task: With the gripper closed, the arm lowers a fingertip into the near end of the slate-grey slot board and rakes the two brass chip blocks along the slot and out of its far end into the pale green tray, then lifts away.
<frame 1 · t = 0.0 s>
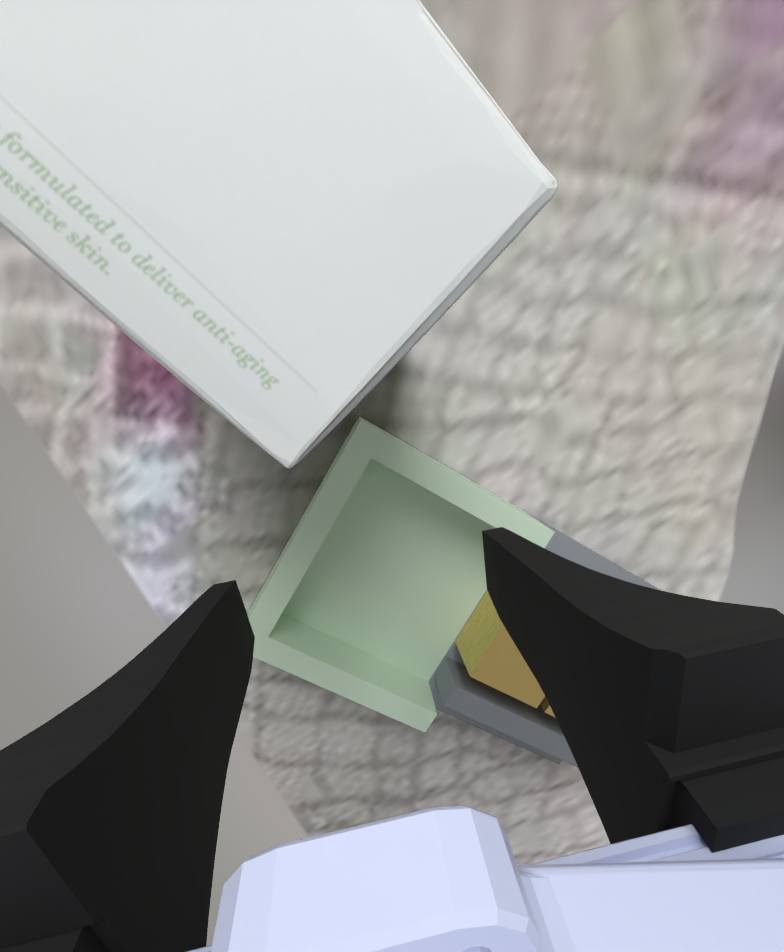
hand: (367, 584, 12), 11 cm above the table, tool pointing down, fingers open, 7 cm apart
skincare box: (308, 315, 21), on the table
slot board: (467, 600, 24), on the table
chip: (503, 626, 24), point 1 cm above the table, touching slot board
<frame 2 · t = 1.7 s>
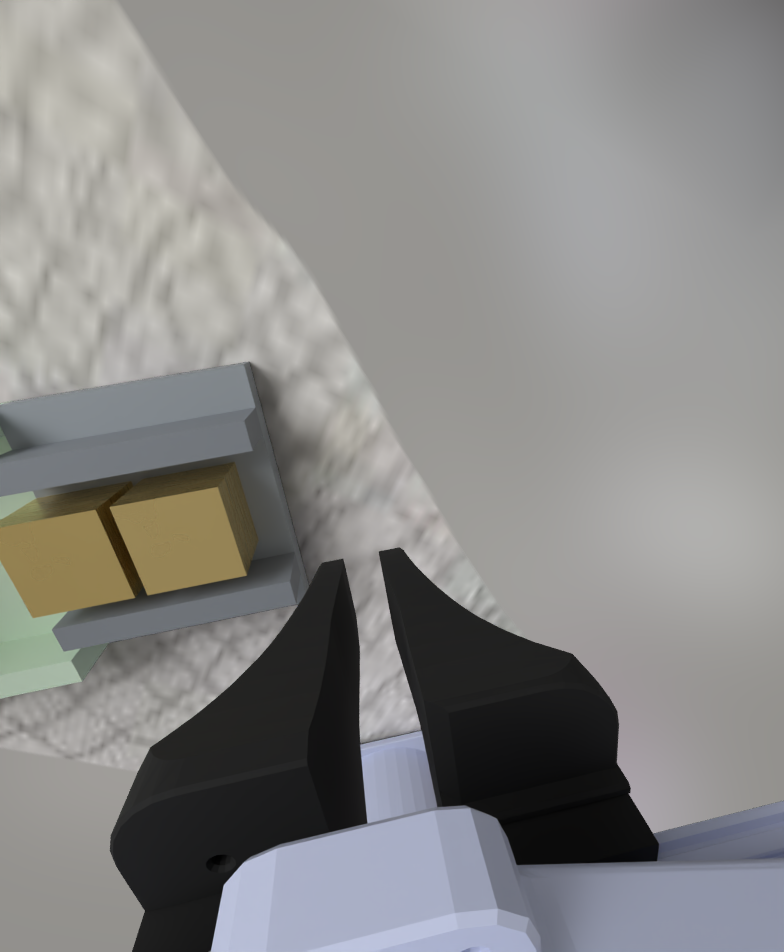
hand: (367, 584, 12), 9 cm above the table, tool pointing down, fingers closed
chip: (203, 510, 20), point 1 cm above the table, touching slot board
slot board: (71, 526, 20), on the table
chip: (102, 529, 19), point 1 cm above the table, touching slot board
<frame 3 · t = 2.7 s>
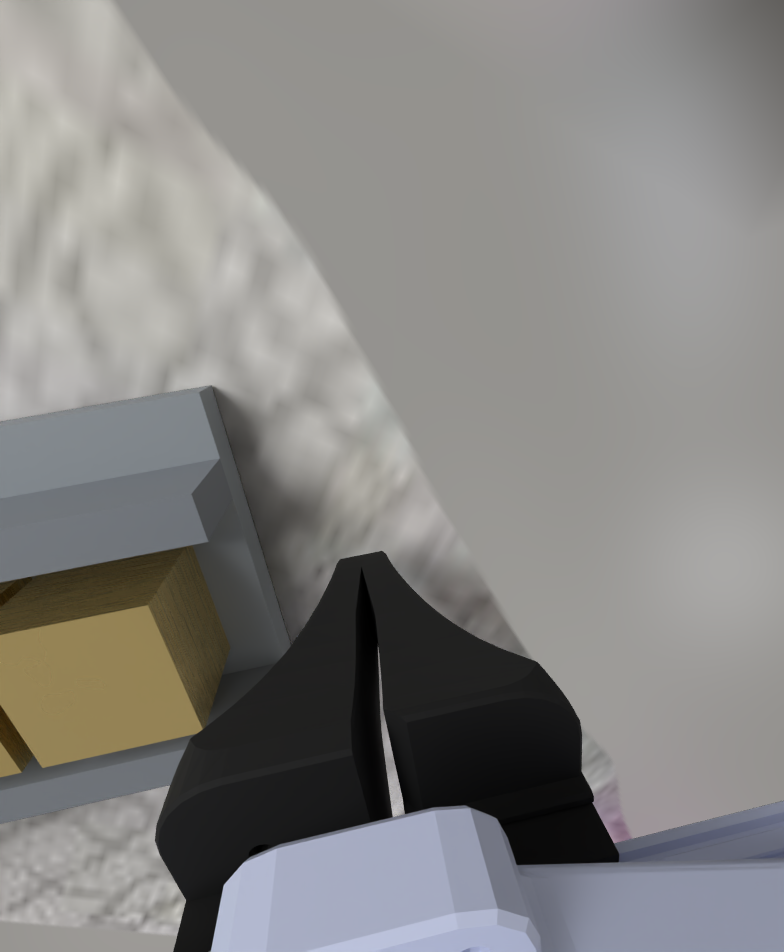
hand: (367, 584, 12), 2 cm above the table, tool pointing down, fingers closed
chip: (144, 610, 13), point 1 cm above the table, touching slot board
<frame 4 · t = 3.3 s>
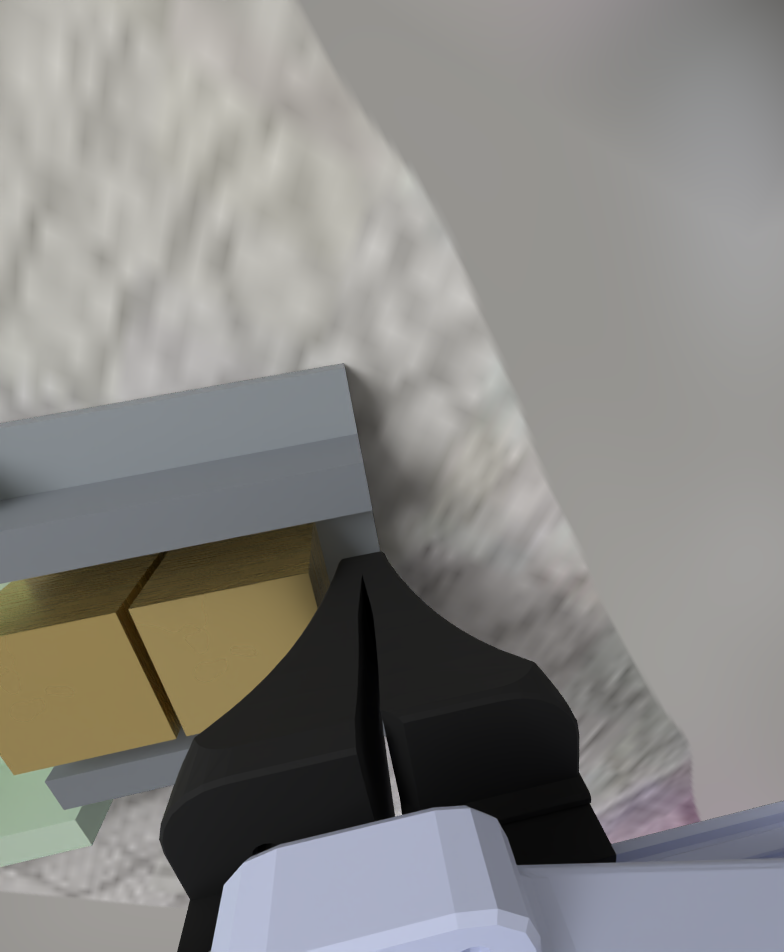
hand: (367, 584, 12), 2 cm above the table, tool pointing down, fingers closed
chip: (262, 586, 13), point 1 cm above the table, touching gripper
slot board: (74, 605, 14), on the table
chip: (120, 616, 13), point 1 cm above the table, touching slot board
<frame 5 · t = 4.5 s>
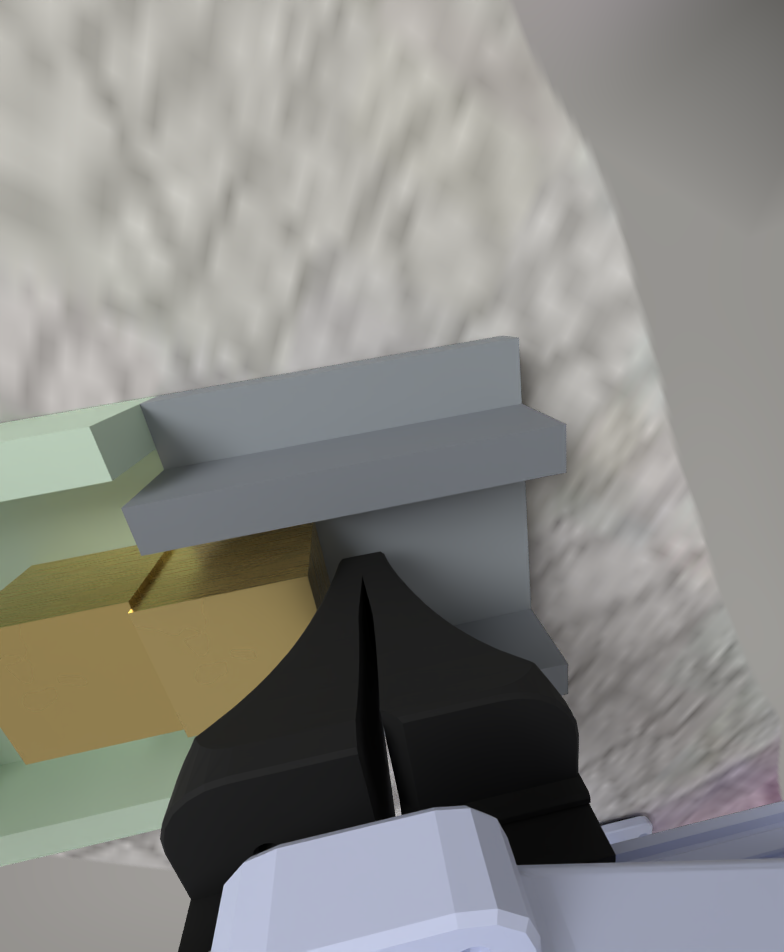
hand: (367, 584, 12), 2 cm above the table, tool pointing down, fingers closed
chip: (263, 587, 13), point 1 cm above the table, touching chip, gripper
slot board: (221, 575, 14), on the table
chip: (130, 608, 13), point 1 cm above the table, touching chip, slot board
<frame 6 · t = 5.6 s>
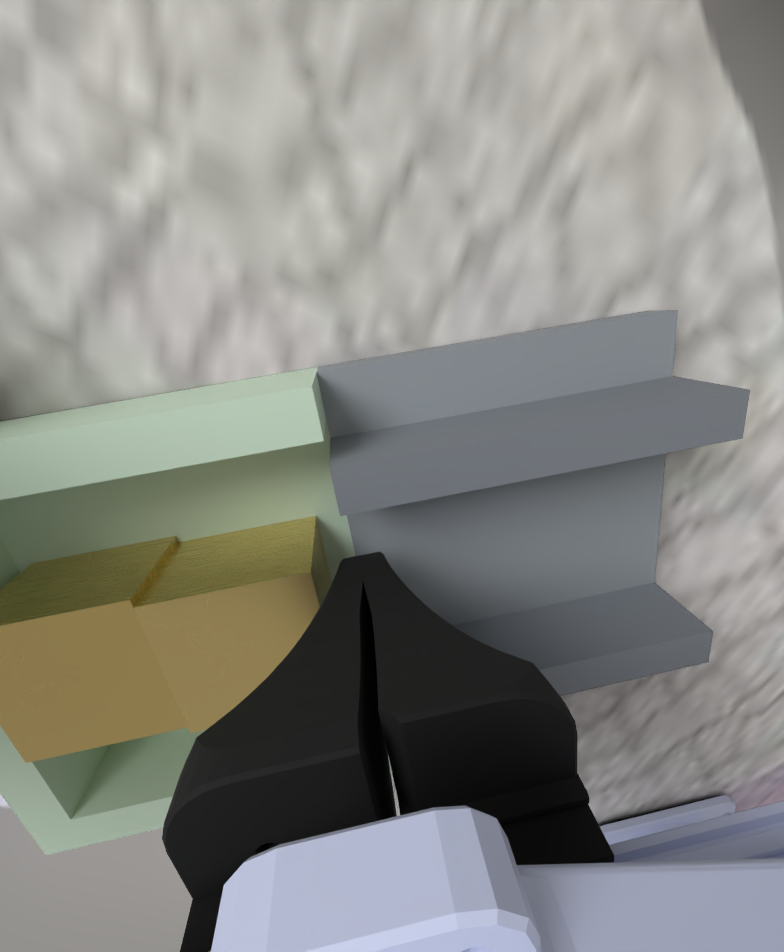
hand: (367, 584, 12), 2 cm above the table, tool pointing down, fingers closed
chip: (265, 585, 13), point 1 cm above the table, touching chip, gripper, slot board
slot board: (355, 547, 14), on the table
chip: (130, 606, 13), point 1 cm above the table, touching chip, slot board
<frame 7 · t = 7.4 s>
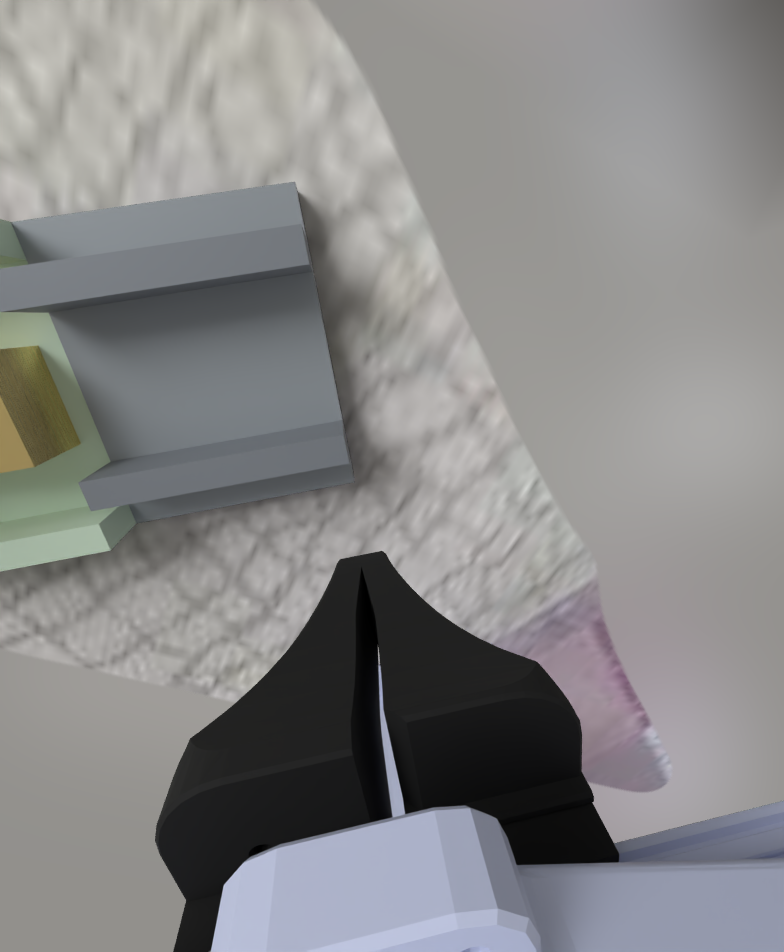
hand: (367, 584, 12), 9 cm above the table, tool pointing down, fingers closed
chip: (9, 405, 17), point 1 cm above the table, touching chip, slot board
slot board: (96, 387, 18), on the table
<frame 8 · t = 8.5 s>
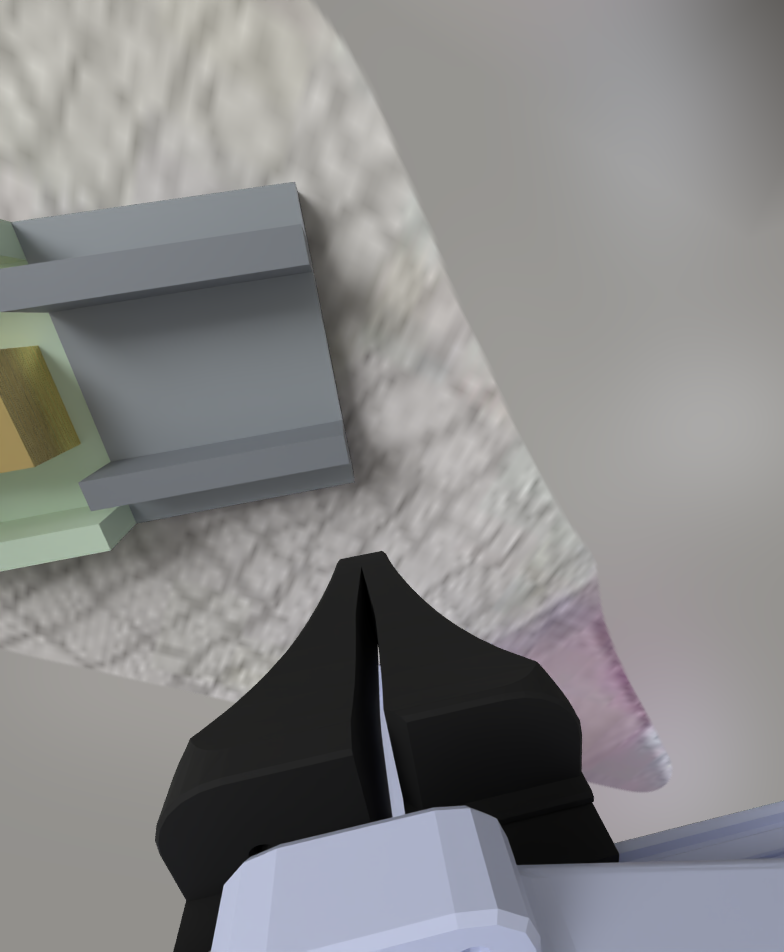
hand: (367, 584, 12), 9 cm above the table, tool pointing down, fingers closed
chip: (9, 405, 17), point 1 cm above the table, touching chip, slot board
slot board: (96, 387, 18), on the table
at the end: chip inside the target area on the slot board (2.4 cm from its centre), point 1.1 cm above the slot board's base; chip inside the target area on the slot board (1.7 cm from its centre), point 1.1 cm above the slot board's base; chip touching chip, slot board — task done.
